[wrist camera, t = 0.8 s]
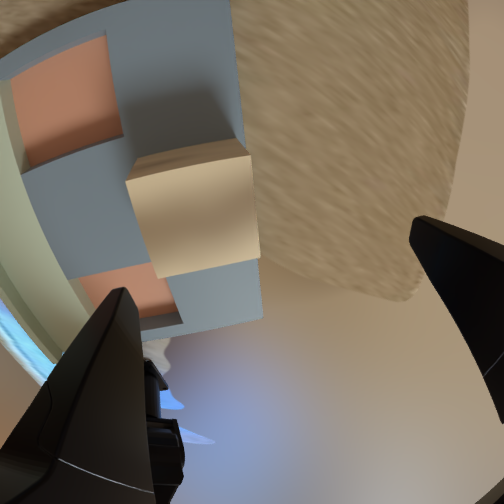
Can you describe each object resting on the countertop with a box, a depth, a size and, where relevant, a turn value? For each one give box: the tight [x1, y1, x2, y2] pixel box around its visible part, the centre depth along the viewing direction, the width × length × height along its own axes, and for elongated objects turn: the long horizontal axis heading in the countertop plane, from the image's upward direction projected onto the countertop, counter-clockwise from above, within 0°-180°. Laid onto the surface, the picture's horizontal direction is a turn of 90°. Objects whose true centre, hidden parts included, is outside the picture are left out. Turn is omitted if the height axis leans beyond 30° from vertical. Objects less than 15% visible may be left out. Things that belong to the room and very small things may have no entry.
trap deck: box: [0, 0, 263, 364], centre depth 17 cm, size 26×22×4 cm
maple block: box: [125, 138, 261, 279], centre depth 16 cm, size 6×6×4 cm
